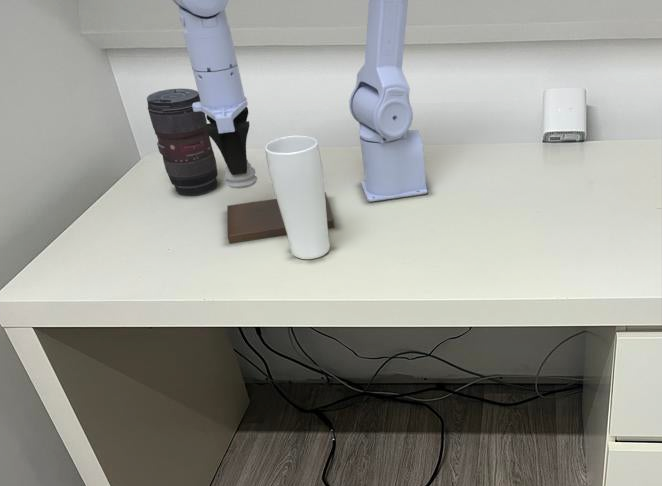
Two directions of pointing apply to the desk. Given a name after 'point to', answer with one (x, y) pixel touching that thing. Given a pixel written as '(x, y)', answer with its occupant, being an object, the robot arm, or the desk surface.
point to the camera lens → (183, 141)
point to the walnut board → (260, 220)
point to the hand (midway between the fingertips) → (239, 168)
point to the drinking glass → (300, 193)
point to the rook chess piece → (241, 178)
